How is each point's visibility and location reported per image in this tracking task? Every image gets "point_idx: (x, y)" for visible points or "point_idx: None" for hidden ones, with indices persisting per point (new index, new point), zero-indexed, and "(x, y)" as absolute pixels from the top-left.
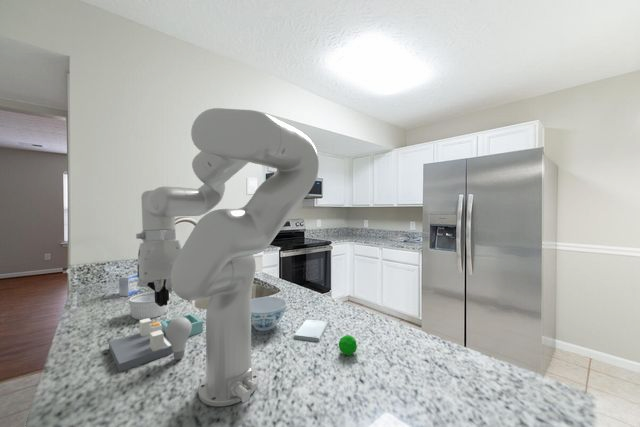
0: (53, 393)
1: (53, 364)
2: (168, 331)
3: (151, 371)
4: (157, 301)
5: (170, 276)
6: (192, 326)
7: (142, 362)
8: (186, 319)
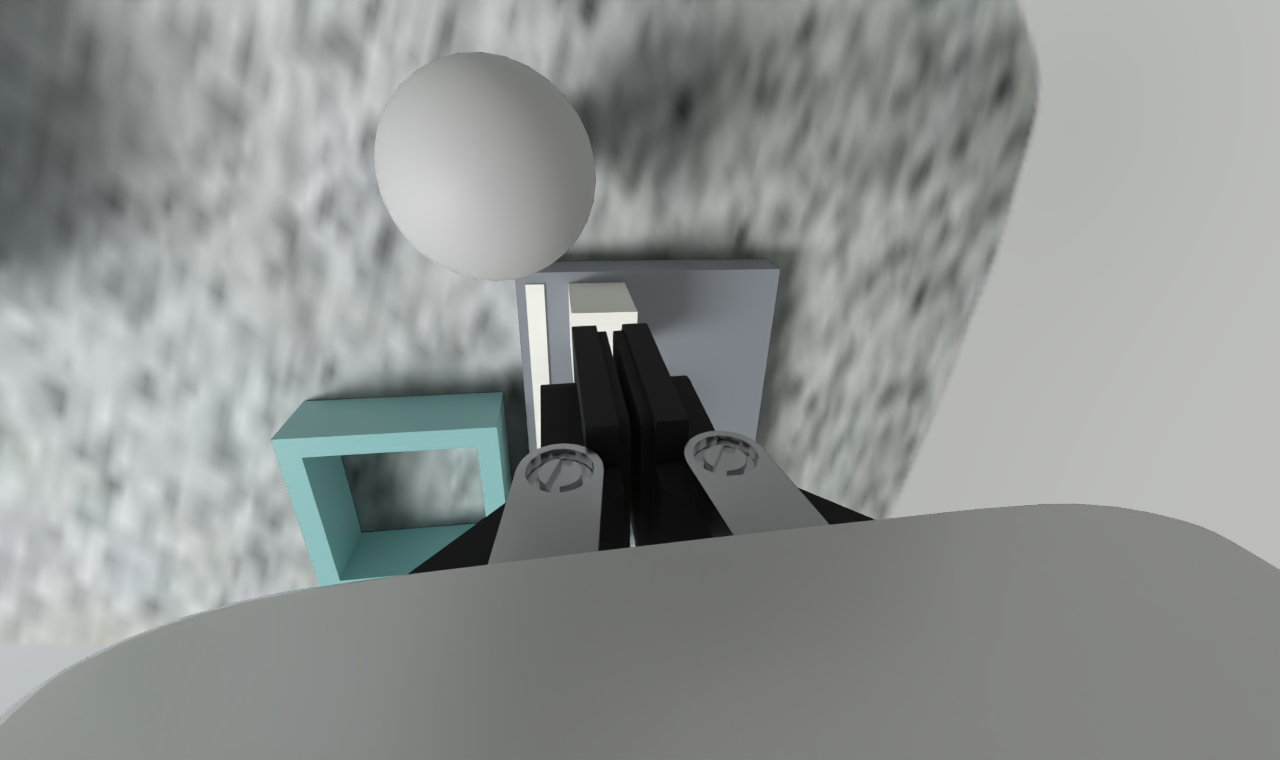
0: (960, 277)
1: (891, 503)
2: (587, 137)
3: (660, 138)
4: (681, 378)
5: (532, 581)
6: (354, 426)
7: (672, 262)
8: (409, 145)
